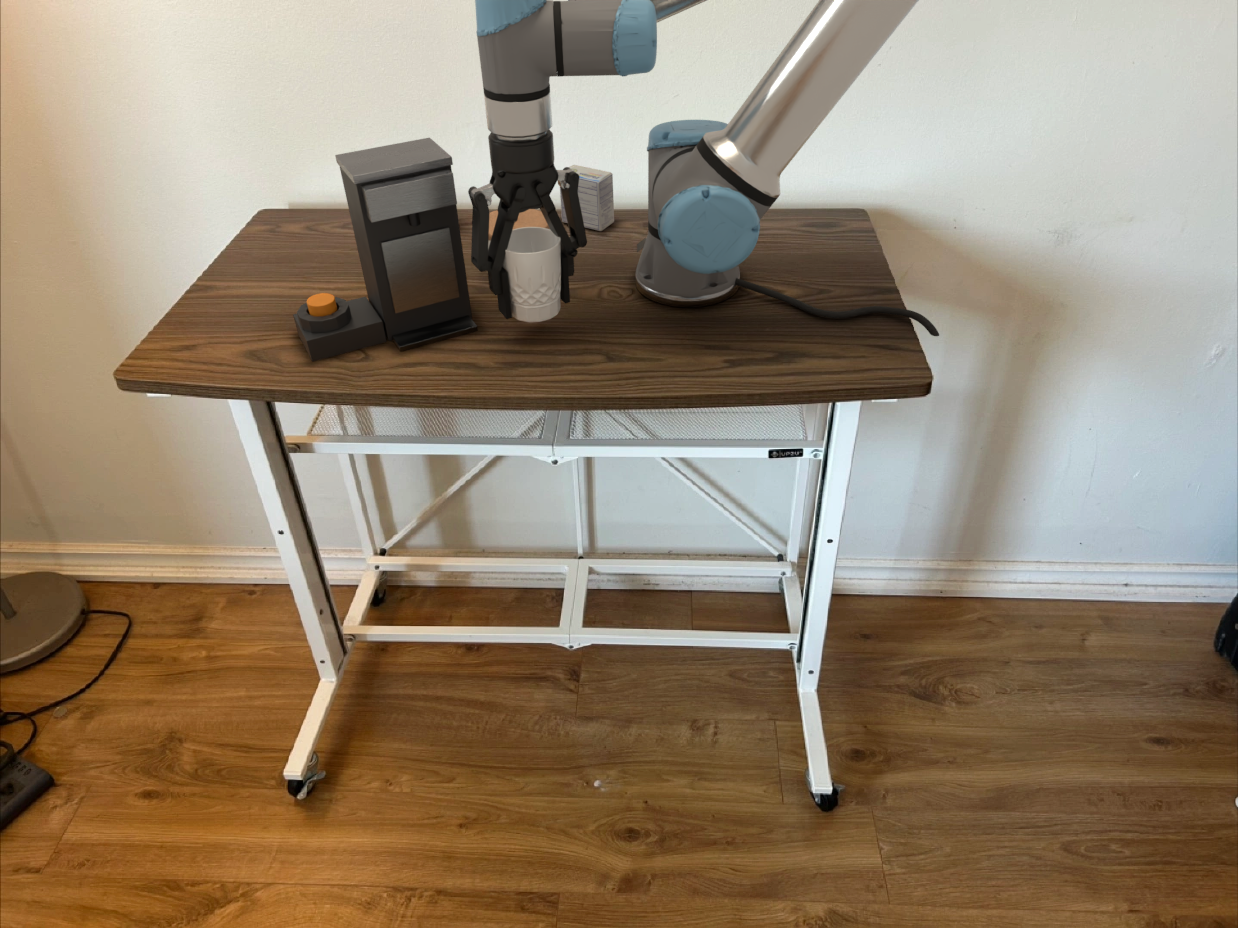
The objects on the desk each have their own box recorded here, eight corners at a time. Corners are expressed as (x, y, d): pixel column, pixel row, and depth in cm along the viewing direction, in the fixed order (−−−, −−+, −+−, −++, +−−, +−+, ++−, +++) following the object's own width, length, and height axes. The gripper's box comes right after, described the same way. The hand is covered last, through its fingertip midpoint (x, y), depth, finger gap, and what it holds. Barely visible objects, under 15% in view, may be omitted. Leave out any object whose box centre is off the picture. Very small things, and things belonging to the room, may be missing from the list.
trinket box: (566, 263, 137) (563, 204, 131) (526, 291, 130) (521, 231, 124) (510, 248, 142) (504, 191, 136) (469, 275, 135) (460, 216, 129)
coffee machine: (370, 315, 126) (334, 154, 111) (453, 294, 130) (429, 137, 116) (395, 353, 117) (360, 185, 103) (482, 329, 122) (461, 164, 108)
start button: (333, 302, 119) (330, 290, 118) (340, 313, 117) (337, 301, 116) (306, 308, 118) (303, 296, 117) (313, 320, 115) (310, 308, 114)
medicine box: (615, 223, 149) (613, 171, 143) (600, 232, 146) (598, 181, 140) (576, 213, 152) (573, 163, 147) (561, 223, 149) (557, 172, 144)
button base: (370, 316, 125) (363, 284, 122) (386, 342, 120) (379, 308, 117) (298, 334, 122) (289, 302, 119) (312, 362, 116) (303, 328, 113)
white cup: (556, 327, 114) (551, 255, 108) (497, 322, 115) (489, 250, 109) (571, 298, 120) (567, 228, 114) (514, 293, 121) (508, 224, 115)
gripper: (584, 107, 109) (591, 277, 124) (424, 136, 102) (451, 313, 116) (613, 124, 104) (616, 299, 118) (447, 156, 97) (471, 338, 111)
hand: (534, 306), depth 117 cm, fingers closed on white cup, 8 cm apart
